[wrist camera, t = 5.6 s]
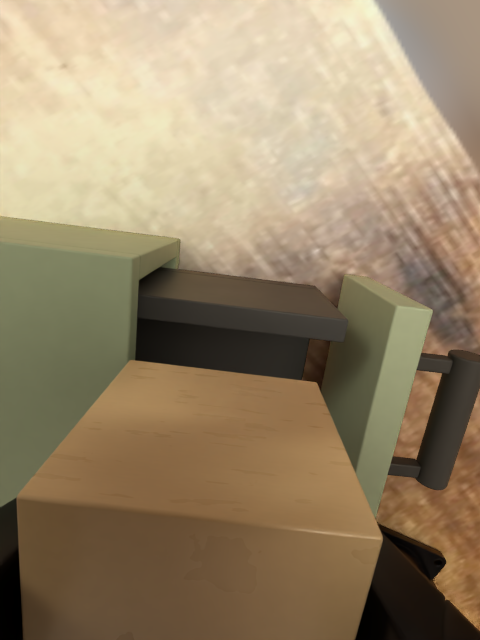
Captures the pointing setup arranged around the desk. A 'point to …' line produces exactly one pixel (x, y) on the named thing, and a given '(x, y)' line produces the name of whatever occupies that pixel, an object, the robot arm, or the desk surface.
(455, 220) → the desk surface
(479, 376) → the cabinet drawer
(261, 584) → the beech block
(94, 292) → the green drawer cabinet
